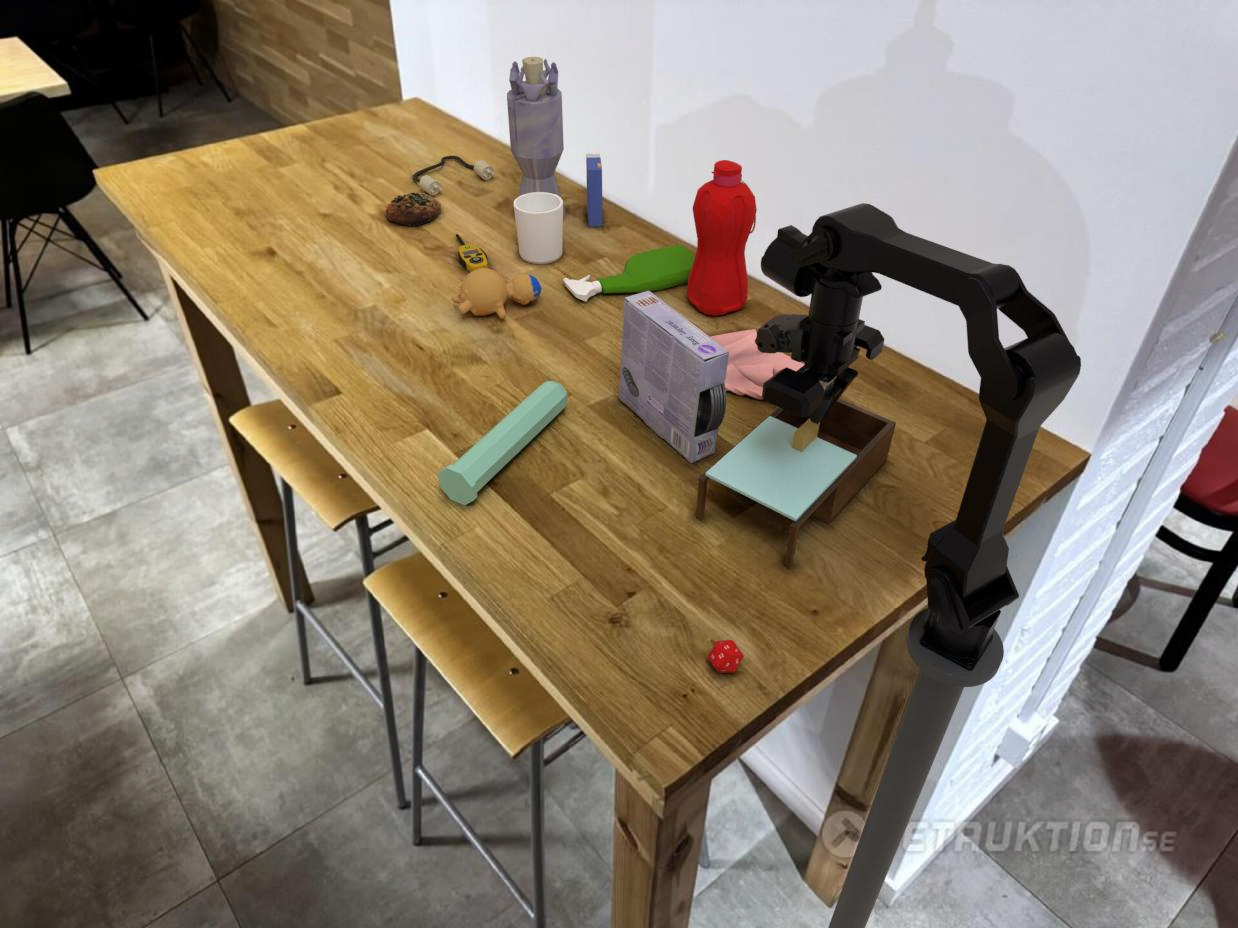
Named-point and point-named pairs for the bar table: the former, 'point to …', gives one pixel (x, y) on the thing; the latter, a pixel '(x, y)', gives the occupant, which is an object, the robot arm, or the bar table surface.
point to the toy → (494, 292)
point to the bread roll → (413, 209)
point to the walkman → (594, 189)
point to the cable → (430, 183)
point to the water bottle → (721, 241)
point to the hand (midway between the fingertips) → (815, 421)
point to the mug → (539, 227)
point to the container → (502, 443)
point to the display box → (870, 445)
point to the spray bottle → (641, 274)
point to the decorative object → (536, 124)
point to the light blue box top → (782, 466)
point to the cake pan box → (672, 375)
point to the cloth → (750, 363)
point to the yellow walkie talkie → (471, 256)
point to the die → (725, 656)
